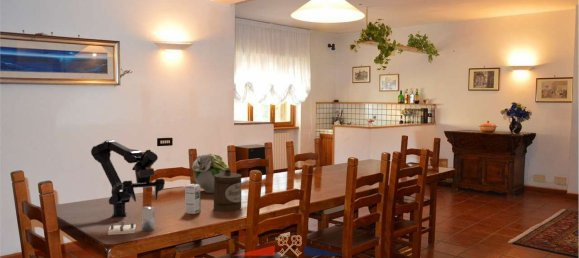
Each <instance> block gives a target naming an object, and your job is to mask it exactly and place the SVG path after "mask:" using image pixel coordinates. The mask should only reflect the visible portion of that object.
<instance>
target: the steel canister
mask: <svg viewBox="0 0 579 258" xmlns="http://www.w3.org/2000/svg"><path fill="white" fill-rule="evenodd" d="M154 230H155V207H154V206H152V205H151V206H142V207H141V231H142V232H152V231H154Z"/></svg>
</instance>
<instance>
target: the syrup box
mask: <svg viewBox="0 0 579 258" xmlns="http://www.w3.org/2000/svg"><path fill="white" fill-rule="evenodd" d="M184 199H185V200H184V205H185V210H184V211H185V214H190V215H191V214H192V215H196V214H198V213H201V209H202V208H201V207H202V205H201V188H200V185H199V184H196V183H190V184H187V185H185V186H184Z"/></svg>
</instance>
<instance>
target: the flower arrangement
mask: <svg viewBox="0 0 579 258" xmlns="http://www.w3.org/2000/svg"><path fill="white" fill-rule="evenodd" d="M226 168H230V167H229V165H227V163H226V162H225V161H224V160H223V157H222V156H221V155H217V154H213V153H205V154H202V155H198V156H197V157H196V159H195V160H194V161H193V163H192V166H191V169H192V170H193V171H194V181H195V184H199V185H200V189H202V190H204V192H205V193H207V194H214V175H216V174H220V173H225V172H226V171H225V169H226Z"/></svg>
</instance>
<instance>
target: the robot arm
mask: <svg viewBox="0 0 579 258" xmlns="http://www.w3.org/2000/svg"><path fill="white" fill-rule="evenodd" d="M111 152H113V153H116V154H118V155H120V156H121V157H123V159H124V161H126V162H127V163H128V164H134V165H133V167H132V169H131V170H132V171H134V173H135V180H136V182H134V183H133V181H132V180H123V181H121V178H120V177H119V174H118V172H117V171H116V168H115V167H114V165H113V163H112V161H111ZM90 153H91V156H92V157H93V159H94V160H95V161H97V162H98V163H99V164H100V165H101V167H102V169H103V171H104V173H105V175H106V178H107V179H108V182H109V184H110V186H111V196H110V198H108V204H109V205H113V206H112V209H113V211H112V212H113V213H112V218H118V217H127V212H126V204H127V203H130V201H131V200H130V199H132V200H133V202H135V203H136V202H137V197H136V193H135V190H134V188H135V189H136V188H153V187H154V189H153V192H154V199H155V201H157V199H158V194H159V192H160V191H162V190H164V187H165V183H166V182H165V179H164V178H155V179H154V182H153V181H151V177H152V176H153V177H154V176H155V170H154V169H155V168H154V167H153V165H154V163H156V161H157V160H158V158H159V157H158V155H157V154H156V153H155V152H153V151H151V149H146V150H145V151H144V152H142V151H141V150H139V149H132V148H129V147H126V146H125V145H122V144H120V143H119V142H117V141H116V140H114V139H107V140H105V141H103V142H101V143H99V144H97V145H93V147H91V150H90ZM151 167H152V168H151ZM148 168H149V169H148ZM150 181H151V182H150Z"/></svg>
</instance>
